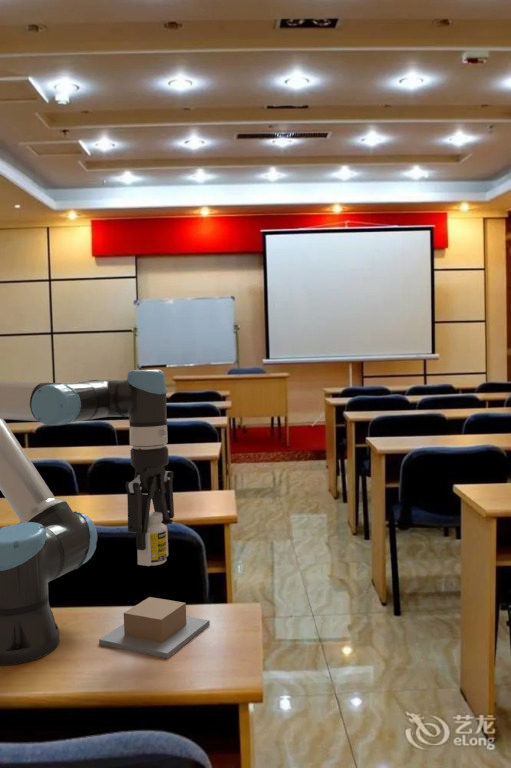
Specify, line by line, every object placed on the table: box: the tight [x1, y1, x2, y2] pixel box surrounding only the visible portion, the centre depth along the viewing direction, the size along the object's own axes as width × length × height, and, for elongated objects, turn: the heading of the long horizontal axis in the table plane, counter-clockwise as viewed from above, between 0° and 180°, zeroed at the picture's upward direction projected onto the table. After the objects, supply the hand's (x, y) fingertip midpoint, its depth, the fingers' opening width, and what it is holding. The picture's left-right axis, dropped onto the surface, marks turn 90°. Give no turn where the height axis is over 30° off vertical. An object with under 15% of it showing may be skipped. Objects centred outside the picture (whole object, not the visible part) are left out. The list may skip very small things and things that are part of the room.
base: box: [98, 596, 211, 660], centre depth 130 cm, size 16×16×6 cm
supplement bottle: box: [147, 511, 168, 566], centre depth 129 cm, size 5×5×10 cm
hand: (153, 559), depth 129 cm, fingers closed on supplement bottle, 5 cm apart
